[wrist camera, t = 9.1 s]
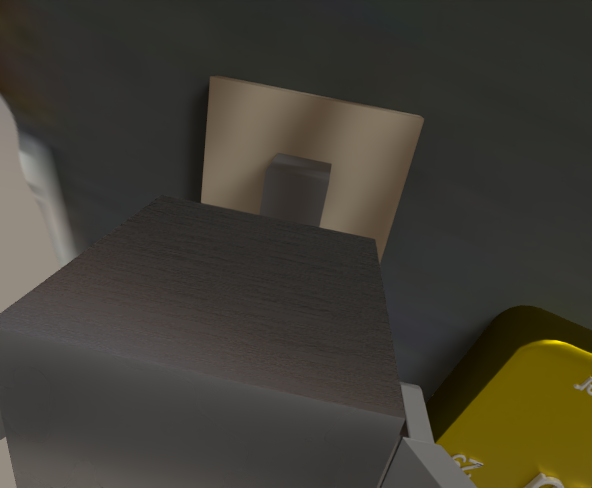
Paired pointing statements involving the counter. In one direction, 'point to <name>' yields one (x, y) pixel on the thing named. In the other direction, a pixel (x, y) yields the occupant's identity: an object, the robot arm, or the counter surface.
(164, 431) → the upright gray block
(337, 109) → the birch base
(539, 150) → the counter surface
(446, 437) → the element tile
